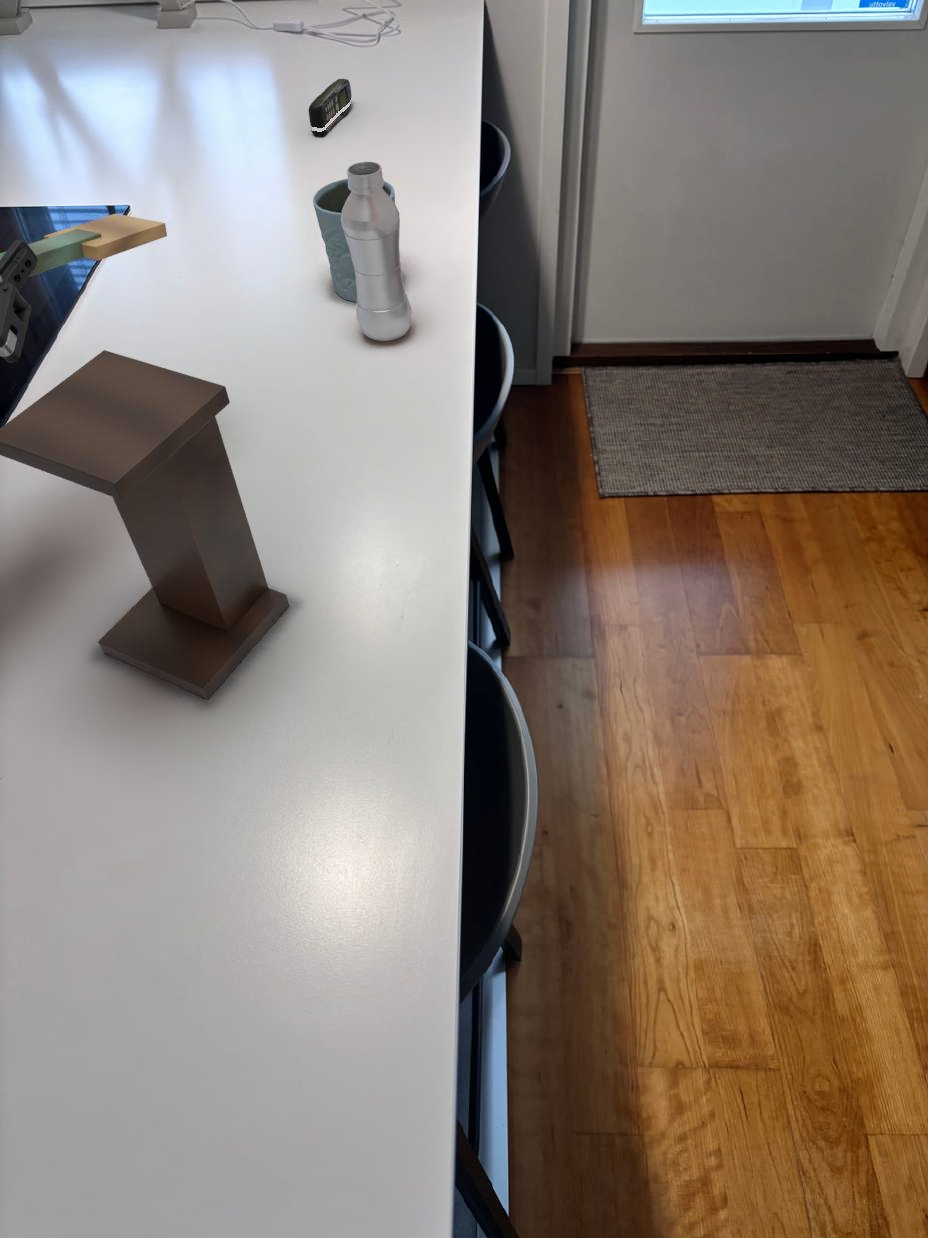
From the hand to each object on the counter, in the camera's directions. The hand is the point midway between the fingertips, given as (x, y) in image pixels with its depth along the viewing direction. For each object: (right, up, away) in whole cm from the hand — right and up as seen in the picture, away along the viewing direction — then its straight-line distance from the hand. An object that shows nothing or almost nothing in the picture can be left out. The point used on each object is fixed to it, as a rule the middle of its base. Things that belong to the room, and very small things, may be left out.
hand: (12, 246), depth 77 cm
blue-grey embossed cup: (+24, +14, +48) cm, 55 cm away
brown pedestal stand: (+13, -31, +9) cm, 35 cm away
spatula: (+2, +1, +5) cm, 5 cm away
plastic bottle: (+27, +5, +40) cm, 48 cm away
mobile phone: (+15, +55, +85) cm, 102 cm away
